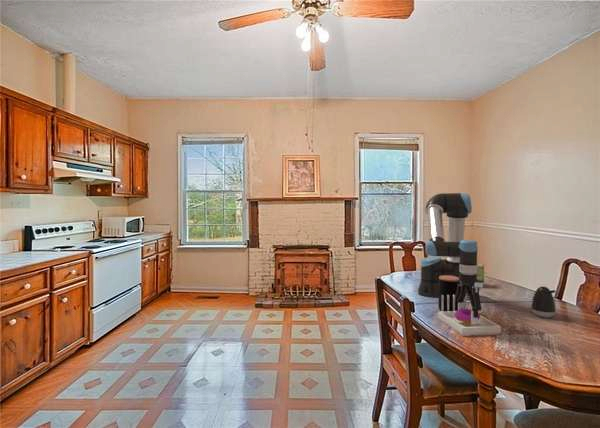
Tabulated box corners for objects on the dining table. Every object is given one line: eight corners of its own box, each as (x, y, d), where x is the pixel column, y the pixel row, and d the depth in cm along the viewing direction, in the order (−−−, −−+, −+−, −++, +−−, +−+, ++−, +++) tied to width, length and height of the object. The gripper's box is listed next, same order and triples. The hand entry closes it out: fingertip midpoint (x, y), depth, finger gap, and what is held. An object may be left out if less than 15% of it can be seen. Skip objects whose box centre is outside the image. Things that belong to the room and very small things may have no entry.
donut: (451, 319, 162) (451, 310, 162) (462, 315, 168) (462, 306, 168) (473, 326, 154) (473, 316, 154) (483, 321, 160) (484, 311, 160)
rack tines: (437, 317, 173) (437, 294, 173) (467, 316, 175) (468, 293, 174) (439, 318, 171) (439, 295, 171) (470, 317, 173) (470, 294, 172)
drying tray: (437, 318, 171) (437, 311, 171) (471, 317, 173) (471, 310, 173) (462, 335, 149) (462, 328, 149) (501, 334, 151) (501, 326, 151)
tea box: (484, 285, 237) (484, 264, 236) (482, 288, 228) (483, 266, 228) (460, 282, 245) (460, 262, 244) (458, 285, 236) (458, 264, 236)
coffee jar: (459, 308, 186) (459, 276, 186) (461, 314, 176) (461, 280, 176) (437, 306, 190) (438, 274, 189) (439, 312, 180) (439, 279, 179)
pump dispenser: (549, 320, 167) (549, 290, 166) (526, 314, 176) (527, 285, 175) (560, 317, 172) (561, 287, 171) (538, 311, 181) (538, 283, 180)
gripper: (447, 268, 171) (447, 312, 172) (474, 279, 148) (474, 329, 149) (462, 268, 172) (461, 311, 173) (491, 278, 149) (490, 328, 150)
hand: (467, 319), depth 161 cm, fingers closed on donut, 10 cm apart
